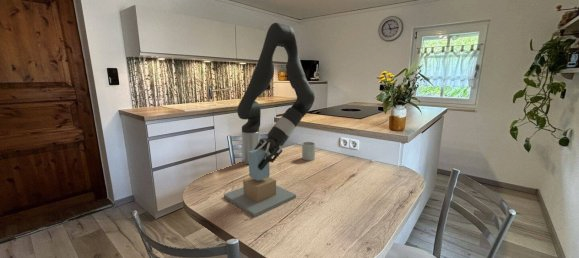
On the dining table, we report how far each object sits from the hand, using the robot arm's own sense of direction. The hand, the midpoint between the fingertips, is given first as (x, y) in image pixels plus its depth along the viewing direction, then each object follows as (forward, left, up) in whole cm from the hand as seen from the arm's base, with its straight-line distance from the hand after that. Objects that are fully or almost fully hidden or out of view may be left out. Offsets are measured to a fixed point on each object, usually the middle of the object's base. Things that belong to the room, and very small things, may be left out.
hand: (255, 166), depth 95 cm
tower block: (0, +2, -5) cm, 5 cm away
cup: (-18, +52, -14) cm, 56 cm away
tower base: (0, +2, -13) cm, 13 cm away
